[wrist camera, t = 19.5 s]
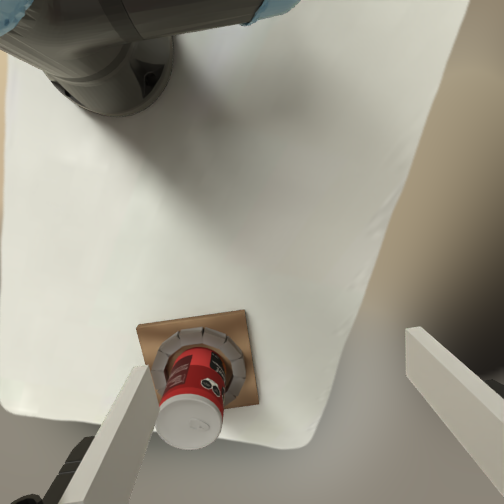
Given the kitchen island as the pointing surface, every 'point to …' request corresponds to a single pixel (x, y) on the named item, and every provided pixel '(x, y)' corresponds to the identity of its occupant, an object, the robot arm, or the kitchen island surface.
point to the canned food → (193, 400)
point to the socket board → (209, 336)
